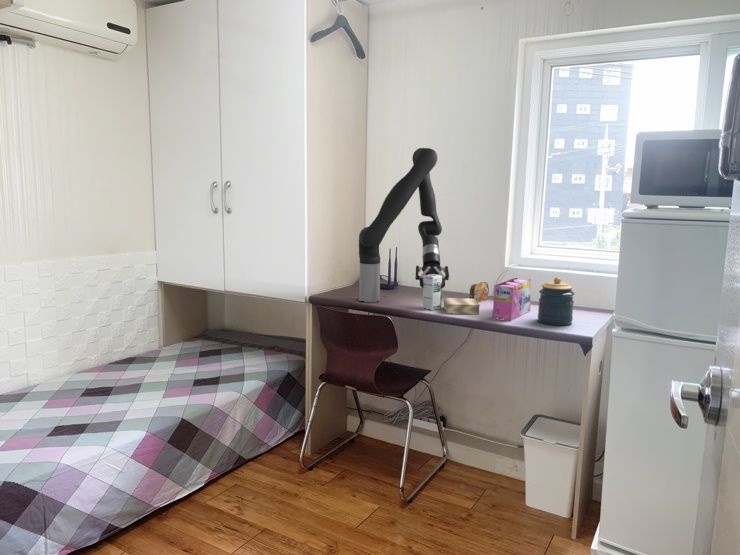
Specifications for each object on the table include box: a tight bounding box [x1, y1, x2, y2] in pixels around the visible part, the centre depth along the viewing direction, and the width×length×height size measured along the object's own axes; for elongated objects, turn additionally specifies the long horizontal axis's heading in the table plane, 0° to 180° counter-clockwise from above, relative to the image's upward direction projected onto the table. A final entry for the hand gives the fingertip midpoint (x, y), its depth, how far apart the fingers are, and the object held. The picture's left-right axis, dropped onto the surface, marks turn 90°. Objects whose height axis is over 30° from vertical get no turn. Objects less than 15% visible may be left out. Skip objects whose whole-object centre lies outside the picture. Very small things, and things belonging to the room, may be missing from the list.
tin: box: [469, 281, 490, 303], centre depth 254 cm, size 15×3×8 cm, turn 143°
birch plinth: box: [443, 297, 480, 315], centre depth 233 cm, size 13×13×4 cm
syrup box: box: [422, 274, 443, 311], centre depth 235 cm, size 6×6×14 cm
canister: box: [537, 276, 575, 326], centre depth 214 cm, size 13×13×18 cm
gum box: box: [492, 277, 532, 321], centre depth 226 cm, size 24×8×14 cm, turn 145°
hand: (432, 287), depth 234 cm, fingers open, 8 cm apart
